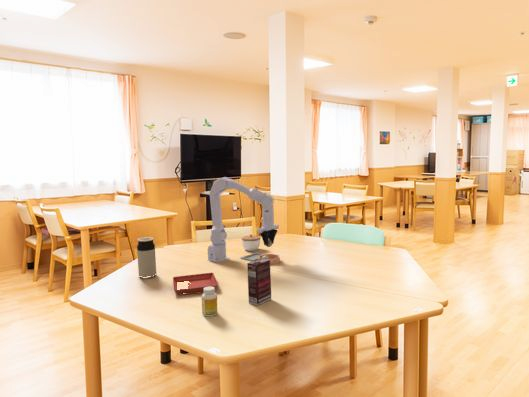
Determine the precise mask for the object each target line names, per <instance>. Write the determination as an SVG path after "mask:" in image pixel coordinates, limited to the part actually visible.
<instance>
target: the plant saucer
mask: <svg viewBox="0 0 529 397" xmlns="http://www.w3.org/2000/svg"><path fill="white" fill-rule="evenodd" d="M184 281H189V282H190V283H191V284H190V283H188V285H189V286H188V289H180V290H177V282H184ZM172 284H173V286H172V287H173V291H174V292H175V293H176V294H177V295H178V294H182V295H184V294H183V293H191V294H195V293H194V292H200V293H204V292H203V289H204V288H205V287H209V286H211V287H214V288H215V290H216V289H217V288H218V286H219V283H218V281H217V279H216V276H215V274H214V272H206V273H197V274H188V275H177V276H173V277H172Z"/></svg>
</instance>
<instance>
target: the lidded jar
mask: <svg viewBox="0 0 529 397" xmlns="http://www.w3.org/2000/svg"><path fill="white" fill-rule="evenodd" d="M241 241H242V242H241V244H242V247H243V249H244V250H246V251H247V252H248V251H249V252H255V251H257V250H258V249H259V248H260V246H261V235H260V236H259V235H254V234H251V233H250V234H249V235H244V236H242V237H241Z"/></svg>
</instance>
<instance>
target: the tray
mask: <svg viewBox="0 0 529 397" xmlns="http://www.w3.org/2000/svg"><path fill="white" fill-rule="evenodd" d="M262 254H263V253H259V252H254V253H250V254H248V255H244V256H241V257H240V260H243V261H248V262H252V261H255V260H258V256H259V255H262Z"/></svg>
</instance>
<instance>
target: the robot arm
mask: <svg viewBox="0 0 529 397" xmlns="http://www.w3.org/2000/svg"><path fill="white" fill-rule="evenodd" d="M232 189H233V190H236V191H239V192H241V193H243V194H245V195H247V196H248V199H250V200H252V201H254V202H257V203H258V204H260V205H261V206H262V213H261V214H262V227H260V228H257V233H258V234H259V235H260V238H262V241H263V244H264V246H265V247H267V246H268V241H269V240H270V241H272V245H273V244H274V242H275V237H276V235H277V233H278V229H279V224H274V223H275V217H274V205H273V204H274V202H275V198H274V196H273V195H271V194H267V192H262V191H261V190H259V188H249V187H247V186H246V185H244V184H242V183H240V182H238V181H236V180H234V179H232V178H229V177H227V176H223V177H220V178H217V179H216V180H215V181H214V182H213V183H212V186H211V188H210V191H209V201H210V210H211V211H210V213H211V223H212V228H211V233H210V234H211V235H210V238H209V240H210V242H211V245H209V246H208V248H207V259H208V260H210V261H209V262H212V261H214V262H213V263H216V262H217V263H220V261H221V262H223V260H224V261H227V260H230V257H227V247H226V246H227V245H226V239H227V234H228V233H227V231H226V229H225V226H224V224H223V217H222V207H221V194H223V193H224V191H226V190H232ZM208 260H207V261H208Z"/></svg>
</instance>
